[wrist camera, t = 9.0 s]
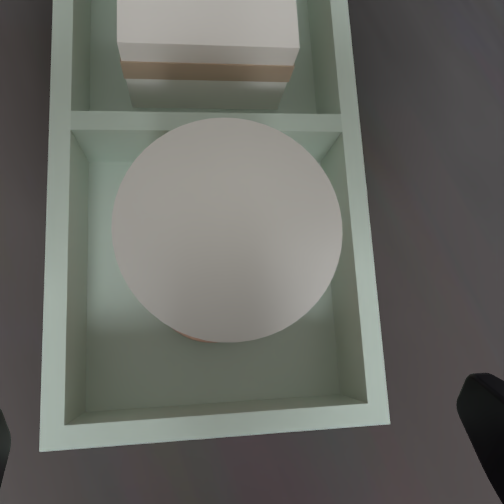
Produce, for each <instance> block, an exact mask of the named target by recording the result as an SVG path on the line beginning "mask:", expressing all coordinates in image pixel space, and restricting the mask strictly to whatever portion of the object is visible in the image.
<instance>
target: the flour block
mask: <svg viewBox="0 0 504 504" xmlns="http://www.w3.org/2000/svg"><path fill="white" fill-rule="evenodd" d="M117 45H118V49H119V53H120V64H121V68H122V72H123V76H124V79H126V82H127V86H128V90H129V94H130V98H131V102H132V107H133V108H195V109H266V110H277V109H278V106H279V103H280V101H281V98H282V95H283V92H284V90H285V87H286V84H287V82H289V80H290V78H291V75H292V72H293V70H294V67H295V65H294V63H295V60H296V57H297V54H298V52H299V49H300V44H299V31H298V18H297V6H296V0H117Z"/></svg>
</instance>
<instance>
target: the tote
mask: <svg viewBox="0 0 504 504" xmlns="http://www.w3.org/2000/svg"><path fill="white" fill-rule="evenodd" d="M296 6H297V18H298V31H299V44H300V49H299V52H298V54H297V57H296V60H295V63H294V65H295V67H294V70H293V72H292V75H291V78H290V80H289V82H287V84H286V87H285V90H284V92H283V95H282V98H281V101H280V103H279V106H278V109H277V110H266V109H195V108H133V107H132V102H131V98H130V94H129V90H128V86H127V82H126V79H124V76H123V72H122V68H121V64H120V53H119V49H118V45H117V0H53V14H52V47H51V80H50V113H49V146H48V178H47V211H46V244H45V277H44V310H43V343H42V375H41V408H40V441H39V452H45V451H57V450H70V449H82V448H95V447H108V446H120V445H133V444H145V443H158V442H171V441H183V440H196V439H208V438H221V437H234V436H246V435H259V434H271V433H284V432H297V431H309V430H322V429H334V428H347V427H360V426H372V425H385V424H390V416H389V406H388V396H387V387H386V377H385V367H384V357H383V347H382V337H381V327H380V317H379V307H378V298H377V288H376V278H375V268H374V258H373V248H372V238H371V228H370V219H369V209H368V199H367V189H366V179H365V169H364V159H363V149H362V140H361V130H360V120H359V110H358V100H357V90H356V80H355V70H354V60H353V51H352V41H351V31H350V21H349V11H348V1H347V0H296ZM223 117H224V118H239V119H245V120H251V121H255V122H258V123H261V124H265V125H267V126H270V127H272V128H274V129H276V130H279V131H280V132H282V133H284V134H286V135H287V136H289V137H291V138H292V139H293V140H295V141H296V142H297V143H299V144H300V145H301V146H303V147H304V148H305V149H306V150H307V151H308V152H309V153H310V154H311V155H312V156H313V157H314V159H315V160H316V161H317V162H318V164H319V165H320V166H321V167H322V169H323V170H324V172H325V174H326V175H327V177H328V178H329V180H330V182H331V185H332V187H333V189H334V191H335V194H336V197H337V200H338V203H339V206H340V212H341V218H342V233H343V236H342V247H341V253H340V257H339V262H338V265H337V268H336V270H335V273H334V276H333V278H332V280H331V282H330V284H329V286H328V287H327V289H326V291H325V292H324V294H323V295H322V296H321V298H320V299H319V301H318V302H317V303H316V304H315V305H314V306H313V307H312V308H311V309H310V310H309V311H308V312H307V313H306V314H305V315H304V316H302V317H301V318H300V319H299V320H297V321H296V322H295V323H293V324H291V325H290V326H288V327H286V328H285V329H283V330H281V331H279V332H276V333H274V334H272V335H269V336H266V337H263V338H259V339H256V340H250V341H243V342H218V343H207V342H199V341H196V340H192V339H189V338H187V337H185V336H183V335H181V334H179V333H178V332H176V331H175V330H174V329H172V328H171V327H170V326H168V325H166V324H164V323H163V322H162V321H160V320H159V319H158V318H157V317H155V316H154V315H153V314H151V313H150V312H149V311H148V310H147V309H146V308H145V307H144V306H143V305H142V304H141V303H140V302H139V301H138V299H137V298H136V297H135V295H134V294H133V293H132V291H131V290H130V289H129V287H128V285H127V283H126V281H125V280H124V278H123V276H122V274H121V271H120V269H119V266H118V264H117V261H116V257H115V253H114V249H113V244H112V232H111V225H112V212H113V207H114V202H115V198H116V195H117V192H118V189H119V186H120V184H121V182H122V180H123V178H124V176H125V174H126V172H127V171H128V169H129V168H130V166H131V165H132V163H133V162H134V160H135V159H136V158H137V157H138V156H139V155H140V154H141V153H142V152H143V150H144V149H145V148H147V147H148V146H149V145H150V144H151V143H153V142H154V141H155V140H156V139H158V138H159V137H161V136H162V135H164V134H166V133H167V132H169V131H171V130H173V129H175V128H177V127H179V126H182V125H185V124H188V123H191V122H194V121H199V120H204V119H209V118H223Z"/></svg>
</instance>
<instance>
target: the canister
mask: <svg viewBox="0 0 504 504" xmlns="http://www.w3.org/2000/svg"><path fill="white" fill-rule="evenodd" d="M111 232H112V244H113V249H114V253H115V257H116V261H117V264H118V266H119V269H120V271H121V274H122V276H123V278H124V280H125V281H126V283H127V285H128V287H129V289H130V290H131V291H132V293H133V294H134V295H135V297H136V298H137V299H138V301H139V302H140V303H141V304H142V305H143V306H144V307H145V308H146V309H147V310H148V311H149V312H150V313H151V314H153V315H154V316H155V317H157V318H158V319H159V320H160V321H162V322H163V323H164V324H166V325H168V326H170V327H171V328H172V329H174V330H175V331H176V332H178V333H179V334H181V335H183V336H185V337H187V338H189V339H192V340H196V341H199V342H207V343H218V342H243V341H250V340H256V339H259V338H263V337H266V336H269V335H272V334H274V333H276V332H279V331H281V330H283V329H285V328H286V327H288V326H290V325H291V324H293V323H295V322H296V321H297V320H299V319H300V318H301V317H302V316H304V315H305V314H306V313H307V312H308V311H309V310H310V309H311V308H312V307H313V306H314V305H315V304H316V303H317V302H318V301H319V299H320V298H321V296H322V295H323V294H324V292H325V291H326V289H327V287H328V286H329V284H330V282H331V280H332V278H333V276H334V273H335V270H336V268H337V265H338V262H339V257H340V253H341V247H342V236H343V233H342V218H341V212H340V206H339V203H338V200H337V197H336V194H335V191H334V189H333V187H332V185H331V182H330V180H329V178H328V177H327V175H326V174H325V172H324V170H323V169H322V167H321V166H320V165H319V164H318V162H317V161H316V160H315V159H314V157H313V156H312V155H311V154H310V153H309V152H308V151H307V150H306V149H305V148H304V147H303V146H301V145H300V144H299V143H297V142H296V141H295V140H293V139H292V138H291V137H289V136H287V135H286V134H284V133H282V132H280V131H279V130H276V129H274V128H272V127H270V126H267V125H265V124H261V123H258V122H255V121H251V120H245V119H239V118H224V117H223V118H209V119H204V120H199V121H194V122H191V123H188V124H185V125H182V126H179V127H177V128H175V129H173V130H171V131H169V132H167V133H166V134H164V135H162V136H161V137H159V138H158V139H156V140H155V141H154V142H153V143H151V144H150V145H149V146H148V147H147V148H145V149H144V150H143V152H142V153H141V154H140V155H139V156H138V157H137V158H136V159H135V160H134V162H133V163H132V165H131V166H130V168H129V169H128V171H127V172H126V174H125V176H124V178H123V180H122V182H121V184H120V186H119V189H118V192H117V195H116V198H115V202H114V207H113V212H112V225H111Z"/></svg>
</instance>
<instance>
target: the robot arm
mask: <svg viewBox="0 0 504 504" xmlns="http://www.w3.org/2000/svg"><path fill="white" fill-rule="evenodd" d="M457 411H458V414H459V417H460V419H461V421H462V423H463V425H464V428H465V430H466V432H467V434H468V436H469V439H470V441H471V443H472V445H473V447H474V449H475V452H476V454H477V456H478V458H479V460H480V463H481V465H482V467H483V469H484V471H485V473H486V475H487V477H488V479H489V481H490V482H491V484H492V486H493V488H494V490H495V491H496V493H497V495H498V497H499V498H500V500H501V502H502V503H503V504H504V381H503V380H501V379H499V378H497V377H495V376H494V375H492V374H489V373H476V374H470V375H469V376H467V378H466V380H465V382H464V384H463V387H462V389H461V391H460V394H459V396H458V399H457ZM10 446H11V436H10V432H9V429H8V426H7V424H6V421H5V418H4V416H3V413H2V410H1V409H0V487H1V483H2V479H3V475H4V471H5V467H6V463H7V459H8V455H9V452H10Z"/></svg>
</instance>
